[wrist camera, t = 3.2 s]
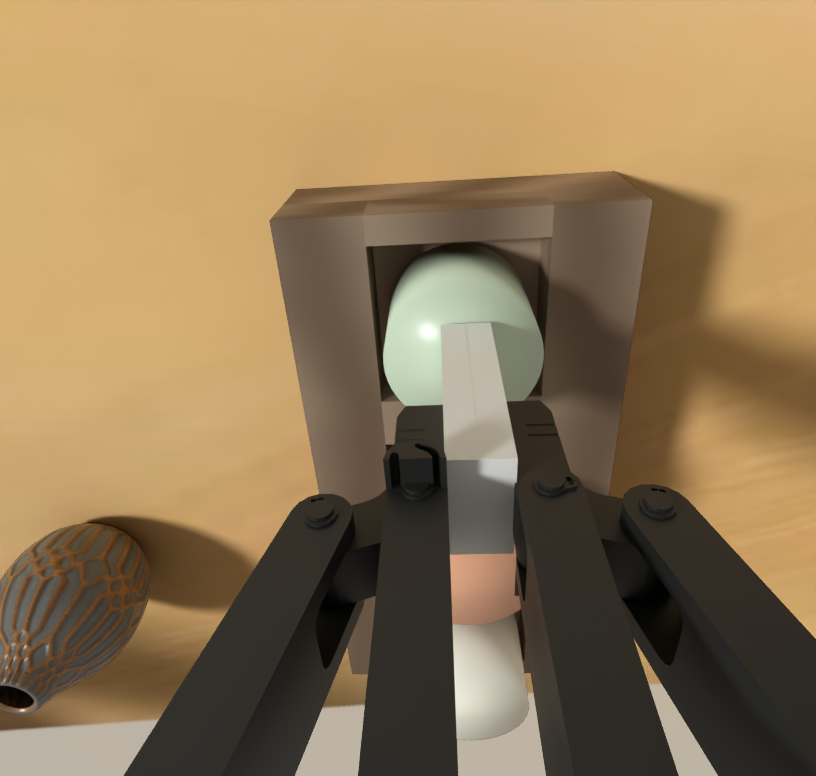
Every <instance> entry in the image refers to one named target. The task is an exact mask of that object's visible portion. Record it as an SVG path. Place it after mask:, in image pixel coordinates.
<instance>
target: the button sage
mask: <svg viewBox="0 0 816 776" xmlns="http://www.w3.org/2000/svg"><path fill="white" fill-rule="evenodd" d="M466 323H491V327H492V332H493V337H494V342H495V347H496V352H497V357H498V362H499V367H500V372H501V377H502V382H503V387H504V392H505V397H506V401H524V400H525V399H526V397H527V396H528V395H529V394H530V393H531V391H532V390H533V388H534V386H535V385H536V383H537V381H538V379H539V376H540V373H541V370H542V367H543V359H544V347H543V341H542V336H541V333H540V330H539V328H538V325H537V322H536V319H535V317H534V314H533V311H532V309H531V306H530V303H529V300H528V298H527V295H526V292H525V290H524V287H523V284H522V281H521V279H520V277H519V275H518V274H517V272H516V271H515V269H514V268H513V267H512V265H511V264H510V263H509V262H508V261H507V260H506V259H504V258H503V257H502V256H501V255H499V254H498V253H496V252H494V251H493V250H490V249H488V248H486V247H483V246H479V245H476V244H470V243H451V244H445V245H441V246H437V247H435V248H432V249H429V250H428V251H426V252H424V253H422V254H420V255H419V256H418V257H416V258H415V259H414V260H413V261H412V262H410V263H409V264H408V265H407V267H406V268H405V269H404V270H403V271H402V273H401V274H400V276H399V278H398V279H397V282H396V284H395V286H394V289H393V293H392V297H391V304H390V310H389V317H388V324H387V331H386V337H385V344H384V352H383V364H384V370H385V374H386V377H387V380H388V383H389V385H390V387H391V389H392V390H393V392H394V393H395V395H396V396H397V397H398V399H399V400H400V401H401V402H402V403H403V404H404V405H405V406H421V405H443V388H442V351H441V325H442V324H466Z"/></svg>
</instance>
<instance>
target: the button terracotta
mask: <svg viewBox="0 0 816 776" xmlns="http://www.w3.org/2000/svg"><path fill="white" fill-rule="evenodd" d="M450 569H451V596H452V624H457V625H478V624H486V623H490V622H494V621H497V620H500V619H503V618H505V617H508V616H510V615H512V614H513V613H515V612H517V611H518V610H520V609H521V605H520V599H519V596H514V595H515V573H516V550H515V544H514V554H459V555H450Z"/></svg>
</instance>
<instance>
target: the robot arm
mask: <svg viewBox="0 0 816 776" xmlns="http://www.w3.org/2000/svg"><path fill="white" fill-rule="evenodd" d="M441 351H442V388H443V405H421V406H405V408H404V409H403V410H402V411H401V413H400V414H399V415H398V416H397V421H396V432H395V443H394V446H392V447H391V448H390V449H389V450H388V451H387V452H386V453H385V456H384V458H383V464H384V474H385V483H386V490H384V491H383V492H382V493H381V494H380V495H378V496H377V497H375V498H373V499H371V500H368V501H365V502H362V503H358V504H354V505H350V503H349V502H348V501H347V500H346V499H345V498H343V497H341V496H338V495H335V494H318V495H314V496H311V497H308V498H306V499H305V500H303V501H301V502H299V503H298V504H297V505H296V506H295V507H294V508H293V510H292V511H291V512H290V514H289V515H288V517H287V519H286V520H285V522H284V523H283V525H282V527H281V528H280V530H279V531H278V533H277V534H276V536H275V538H274V539H273V541H272V542H271V544H270V545H269V547H268V549H267V550H266V552H265V553H264V555H263V557H262V558H261V560H260V561H259V563H258V564H257V566H256V568H255V569H254V571H253V572H252V574H251V575H250V577H249V579H248V580H247V582H246V583H245V585H244V587H243V588H242V590H241V591H240V593H239V594H238V596H237V598H236V599H235V601H234V602H233V604H232V605H231V607H230V609H229V610H228V612H227V613H226V615H225V616H224V618H223V620H222V621H221V623H220V624H219V626H218V628H217V629H216V631H215V632H214V634H213V635H212V637H211V639H210V640H209V642H208V643H207V645H206V646H205V648H204V650H203V651H202V653H201V654H200V656H199V658H198V659H197V661H196V662H195V664H194V665H193V667H192V669H191V670H190V672H189V673H188V675H187V676H186V678H185V680H184V681H183V683H182V684H181V686H180V688H179V689H178V691H177V692H176V694H175V695H174V697H173V699H172V700H171V702H170V703H169V705H168V706H167V708H166V710H165V711H164V713H163V714H162V716H161V718H160V719H159V721H158V722H157V724H156V726H155V727H154V729H153V730H152V732H151V733H150V735H149V736H148V738H147V740H146V741H145V743H144V744H143V746H142V747H141V749H140V751H139V752H138V754H137V756H136V757H135V759H134V760H133V762H132V764H131V765H130V766H129V768H128V770H127V771H126V773H125V774H124V776H295V773H296V771H297V768H298V766H299V764H300V761H301V758H302V756H303V754H304V751H305V749H306V746H307V744H308V741H309V739H310V737H311V734H312V731H313V729H314V727H315V724H316V722H317V719H318V717H319V714H320V712H321V710H322V707H323V705H324V702H325V700H326V697H327V695H328V692H329V690H330V687H331V685H332V683H333V680H334V678H335V675H336V673H337V670H338V668H339V665H340V663H341V660H342V658H343V655H344V653H345V651H346V648H347V646H348V643H349V641H350V638H351V636H352V633H353V631H354V628H355V626H356V624H357V621H358V619H359V616H360V614H361V611H362V609H363V606H364V601H365V599H368V598H371V597H374V596H376V598H375V609H374V619H373V629H372V639H371V649H370V660H369V670H368V680H367V690H366V700H365V710H364V722H363V731H362V741H361V751H360V762H359V772H358V776H458V763H457V734H456V706H455V679H454V651H453V624H452V596H451V569H450V555H459V554H514V544H515V550H516V573H515V595H514V596H519V599H520V605H521V612H522V618H523V625H524V632H525V638H526V645H527V652H528V658H529V665H530V672H531V678H532V685H533V691H534V698H535V705H536V711H537V717H538V724H539V731H540V738H541V745H542V751H543V758H544V764H545V771H546V776H678V773H677V770H676V766H675V763H674V760H673V758H672V754H671V752H670V748H669V745H668V742H667V739H666V736H665V733H664V730H663V727H662V724H661V721H660V718H659V715H658V712H657V709H656V706H655V703H654V700H653V697H652V694H651V690H650V687H649V684H648V681H647V678H646V675H645V672H644V669H643V666H642V663H641V660H640V657H639V654H638V651H637V648H636V645H635V642H634V639H635V641H636V643H637V644H638V646H639V647H640V649H641V651H642V652H643V654H644V656H645V657H646V659H647V661H648V662H649V664H650V665H651V667H652V669H653V670H654V672H655V674H656V675H657V677H658V678H659V680H660V682H661V683H662V685H663V687H664V688H665V690H666V691H667V693H668V695H669V696H670V698H671V700H672V701H673V703H674V704H675V706H676V708H677V709H678V711H679V713H680V714H681V716H682V717H683V719H684V721H685V722H686V724H687V726H688V727H689V729H690V731H691V732H692V734H693V735H694V737H695V739H696V740H697V742H698V743H699V745H700V747H701V748H702V750H703V752H704V753H705V755H706V757H707V758H708V760H709V761H710V763H711V765H712V766H713V768H714V770H715V771H716V773H717V774H718V776H816V639H815V638H814V637H813V636H812V635H811V633H810V632H809V631H808V630H807V629H806V628H805V627H804V626H803V625H802V624H801V623H800V622H799V620H798V619H797V618H796V617H795V616H794V615H793V614H792V613H791V612H790V611H789V610H788V608H787V607H786V606H785V605H784V604H783V603H782V602H781V601H780V600H779V599H778V598H777V596H776V595H775V594H774V593H773V592H772V591H771V590H770V589H769V588H768V587H767V586H766V585H765V583H764V582H763V581H762V580H761V579H760V578H759V577H758V576H757V575H756V574H755V573H754V571H753V570H752V569H751V568H750V567H749V566H748V565H747V564H746V563H745V562H744V561H743V560H742V558H741V557H740V556H739V555H738V554H737V553H736V552H735V551H734V550H733V549H732V548H731V546H730V545H729V544H728V543H727V542H726V541H725V540H724V539H723V538H722V537H721V536H720V535H719V533H718V532H717V531H716V530H715V529H714V528H713V527H712V526H711V525H710V524H709V523H708V521H707V520H706V519H705V518H704V517H703V516H702V515H701V514H700V513H699V512H698V511H697V509H696V508H695V507H694V506H693V505H692V504H691V503H690V502H689V501H688V500H687V499H686V498H685V497H683V496H682V495H681V494H679V493H678V492H676V491H674V490H671V489H669V488H667V487H663V486H658V485H653V484H652V485H639V486H636V487H634V488H631V489H629V490H628V491H627V492H626V494H625V495H624V498H623V499H621V498H616V497H611V496H606V495H602V494H599V493H595V492H593V491H591V490H588V489H586V488H585V487H583V484H582V483H581V481H580V480H579V478H578V477H577V476H576V475H574V474H573V473H572V472H570V469H569V465H568V462H567V459H566V456H565V453H564V450H563V446H562V443H561V440H560V437H559V435H558V430H557V427H556V426H555V421H554V418H553V415H552V411H551V410H550V409H549V408H548V407H547V406H545V405H544V404H543V403H542V402H541V401H540V400H534V401H506V397H505V392H504V387H503V382H502V377H501V372H500V367H499V362H498V357H497V352H496V347H495V342H494V337H493V332H492V327H491V323H466V324H442V325H441ZM633 638H634V639H633Z"/></svg>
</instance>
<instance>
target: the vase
mask: <svg viewBox="0 0 816 776" xmlns="http://www.w3.org/2000/svg"><path fill="white" fill-rule="evenodd" d="M149 591H150V570H149V566H148V563H147V560H146V557H145V555H144V553H143V552H142V550H141V548H140V547H139V546H138V544H137V543H136V542H135V541H134V540H133V539H132V538H131V537H130V536H129V535H128V534H126V533H125V532H123V531H121V530H119V529H117V528H114V527H112V526H108V525H104V524H77V525H72V526H68V527H64V528H61V529H58V530H56V531H54V532H52V533H50V534H48V535H46V536H44V537H43V538H41V539H40V540H38V541H37V542H35V543H34V544H33V545H31V546H30V547H29V548H28V549H26V550H25V551H24V552H23V553H22V554H21V555H20V556H19V557H18V558H17V559H16V560H15V561H14V563H13V564H12V565H11V566H10V567H9V569H8V570H7V571H6V573H5V574H4V575H3V577H2V578H1V580H0V709H1V710H4V711H7V712H11V713H17V714H26V713H31V712H34V711H36V710H37V709H39V708H40V707H41V706H42V705H43V704H45V703H46V702H47V701H48V700H49V699H51V698H52V697H53V696H55V695H56V694H58V693H60V692H62V691H64V690H66V689H68V688H70V687H72V686H74V685H76V684H78V683H80V682H81V681H83V680H85V679H87V678H89V677H91V676H92V675H94V674H96V673H97V672H98V671H100V670H101V669H103V668H104V667H105V666H106V665H107V664H109V663H110V662H111V661H112V660H113V659H114V658H115V657H116V656H117V655H118V653H119V652H120V651H121V650H122V649H123V648H124V646H125V645H126V644H127V643H128V641H129V640H130V638H131V637H132V636H133V634H134V632H135V630H136V629H137V627H138V625H139V623H140V620H141V618H142V616H143V614H144V611H145V608H146V605H147V602H148V597H149Z"/></svg>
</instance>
